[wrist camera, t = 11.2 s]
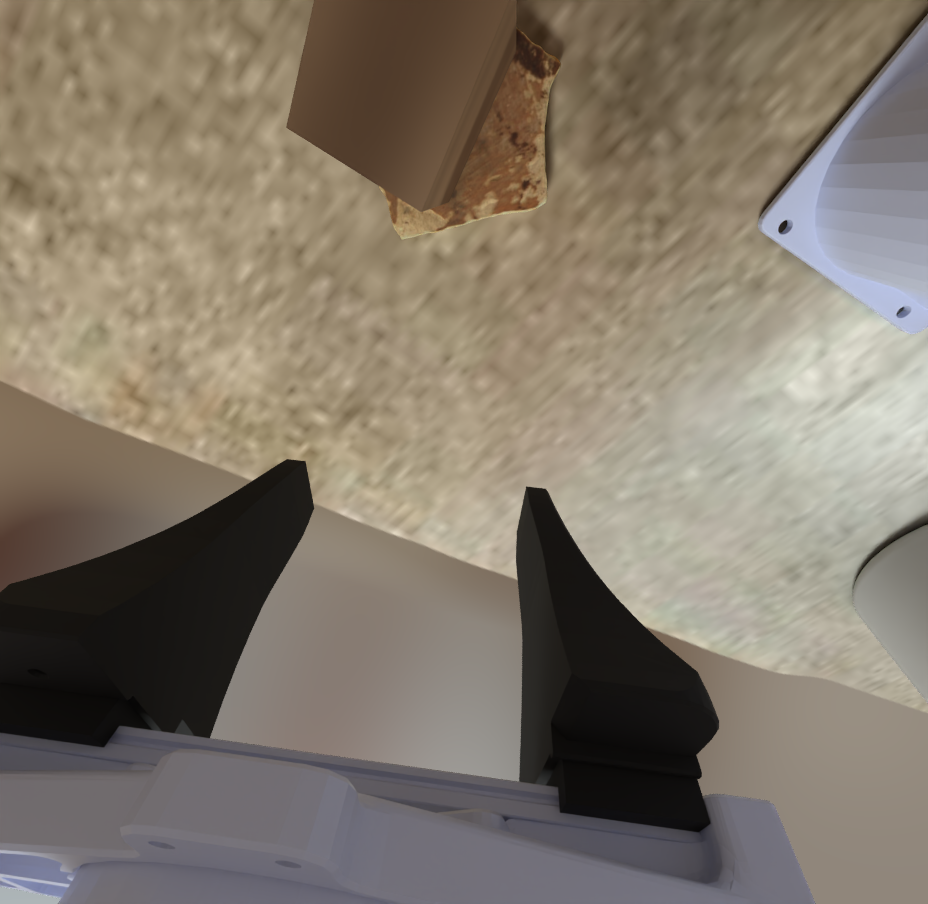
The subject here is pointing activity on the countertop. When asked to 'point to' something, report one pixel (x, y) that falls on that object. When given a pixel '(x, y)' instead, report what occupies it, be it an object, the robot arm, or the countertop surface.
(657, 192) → the countertop surface
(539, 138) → the shard
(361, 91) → the walnut block
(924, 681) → the cylinder vase
